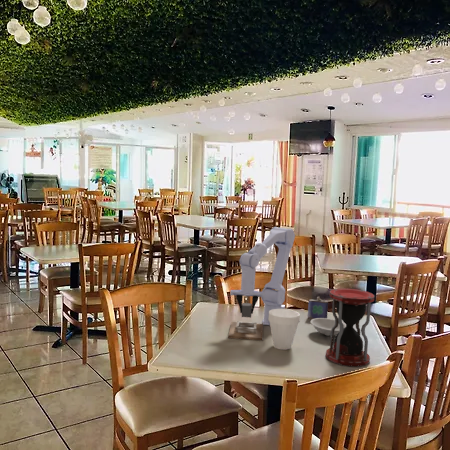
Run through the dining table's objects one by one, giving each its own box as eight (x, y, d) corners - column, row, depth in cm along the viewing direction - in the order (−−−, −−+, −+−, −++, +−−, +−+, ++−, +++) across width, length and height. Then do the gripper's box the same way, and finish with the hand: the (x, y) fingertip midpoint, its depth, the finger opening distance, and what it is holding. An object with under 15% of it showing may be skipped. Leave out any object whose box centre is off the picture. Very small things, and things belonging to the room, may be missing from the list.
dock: (262, 326, 215) (263, 319, 215) (262, 340, 196) (262, 333, 196) (231, 324, 216) (231, 317, 216) (228, 338, 197) (228, 330, 197)
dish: (354, 340, 201) (355, 329, 200) (324, 343, 195) (325, 331, 195) (330, 327, 217) (331, 316, 217) (302, 330, 212) (303, 319, 211)
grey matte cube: (251, 314, 207) (251, 303, 207) (251, 317, 204) (251, 306, 203) (242, 314, 208) (242, 303, 207) (241, 316, 204) (242, 305, 203)
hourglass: (316, 357, 180) (321, 291, 178) (340, 347, 191) (344, 286, 189) (355, 370, 169) (360, 301, 166) (377, 359, 180) (382, 294, 178)
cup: (273, 353, 182) (275, 318, 181) (262, 342, 194) (264, 309, 193) (303, 351, 186) (305, 316, 184) (290, 340, 198) (292, 308, 196)
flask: (307, 318, 230) (308, 296, 229) (307, 316, 233) (309, 295, 232) (326, 320, 228) (328, 298, 227) (327, 318, 231) (328, 297, 230)
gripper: (230, 282, 201) (229, 314, 202) (265, 284, 200) (263, 316, 201) (231, 278, 208) (230, 309, 209) (265, 280, 207) (263, 311, 208)
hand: (246, 312), depth 205 cm, fingers closed on grey matte cube, 4 cm apart
